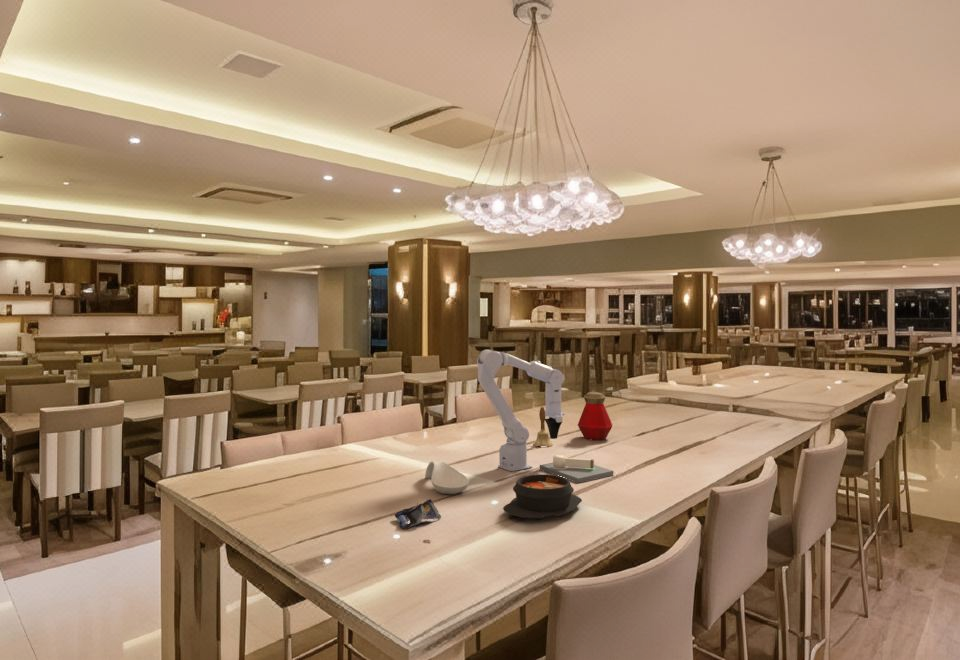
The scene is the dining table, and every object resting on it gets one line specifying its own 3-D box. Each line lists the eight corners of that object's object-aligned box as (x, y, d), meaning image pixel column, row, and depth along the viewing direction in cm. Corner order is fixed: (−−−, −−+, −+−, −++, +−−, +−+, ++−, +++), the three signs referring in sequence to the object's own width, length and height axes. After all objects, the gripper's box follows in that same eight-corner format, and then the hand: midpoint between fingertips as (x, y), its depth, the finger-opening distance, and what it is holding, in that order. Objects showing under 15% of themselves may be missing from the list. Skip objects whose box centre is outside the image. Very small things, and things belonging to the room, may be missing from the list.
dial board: (578, 482, 188) (578, 478, 188) (539, 469, 205) (539, 464, 205) (613, 475, 197) (613, 470, 197) (573, 462, 213) (573, 458, 213)
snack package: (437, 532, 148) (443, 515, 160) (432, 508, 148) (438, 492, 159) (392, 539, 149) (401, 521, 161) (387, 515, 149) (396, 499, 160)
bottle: (617, 437, 256) (617, 392, 256) (606, 443, 245) (606, 396, 244) (584, 433, 265) (583, 390, 264) (572, 439, 253) (572, 393, 253)
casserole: (548, 493, 177) (547, 466, 177) (597, 508, 164) (597, 479, 163) (488, 513, 161) (487, 483, 161) (537, 531, 147) (537, 498, 147)
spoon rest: (475, 494, 178) (475, 471, 177) (439, 500, 172) (439, 476, 172) (446, 475, 199) (446, 455, 199) (414, 480, 194) (413, 459, 194)
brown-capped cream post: (552, 466, 200) (552, 457, 200) (554, 463, 205) (554, 454, 205) (592, 469, 196) (592, 460, 196) (594, 466, 201) (594, 457, 200)
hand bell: (546, 448, 237) (546, 409, 236) (529, 445, 242) (529, 407, 242) (556, 444, 244) (556, 406, 243) (539, 441, 249) (539, 405, 248)
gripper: (570, 404, 205) (570, 442, 206) (557, 398, 219) (557, 433, 220) (551, 404, 204) (551, 443, 204) (539, 398, 218) (540, 434, 219)
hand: (553, 438), depth 212 cm, fingers closed
